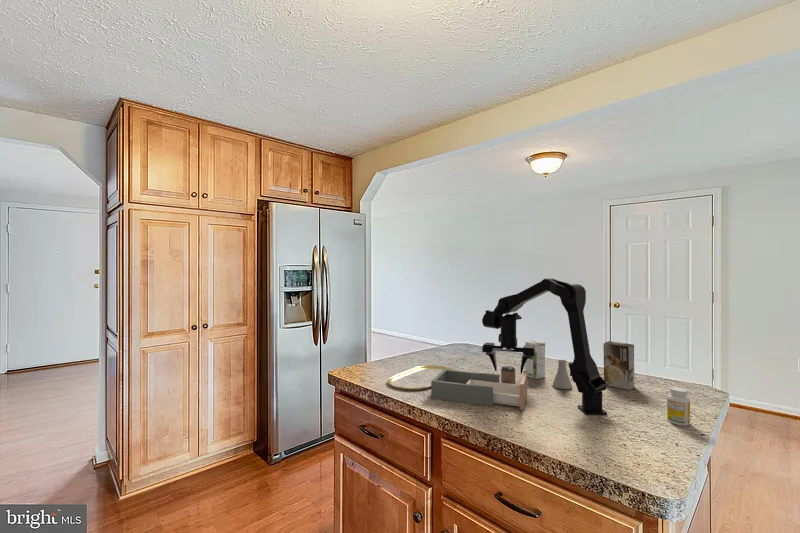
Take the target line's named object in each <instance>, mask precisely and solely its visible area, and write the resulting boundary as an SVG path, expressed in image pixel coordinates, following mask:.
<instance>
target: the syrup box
mask: <svg viewBox="0 0 800 533" xmlns="http://www.w3.org/2000/svg"><path fill="white" fill-rule="evenodd" d="M524 345H528V346H534V347H535V356H531V358H528V359H527V361H526V363H525V365H524V369H525V370H524V371H527V378H528V377H529V378H531V379H533V380H538V379H544V378H546V342H543V341H538V340H534V339H532V340H531V339H530V340H526V341H525V344H524Z"/></svg>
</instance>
